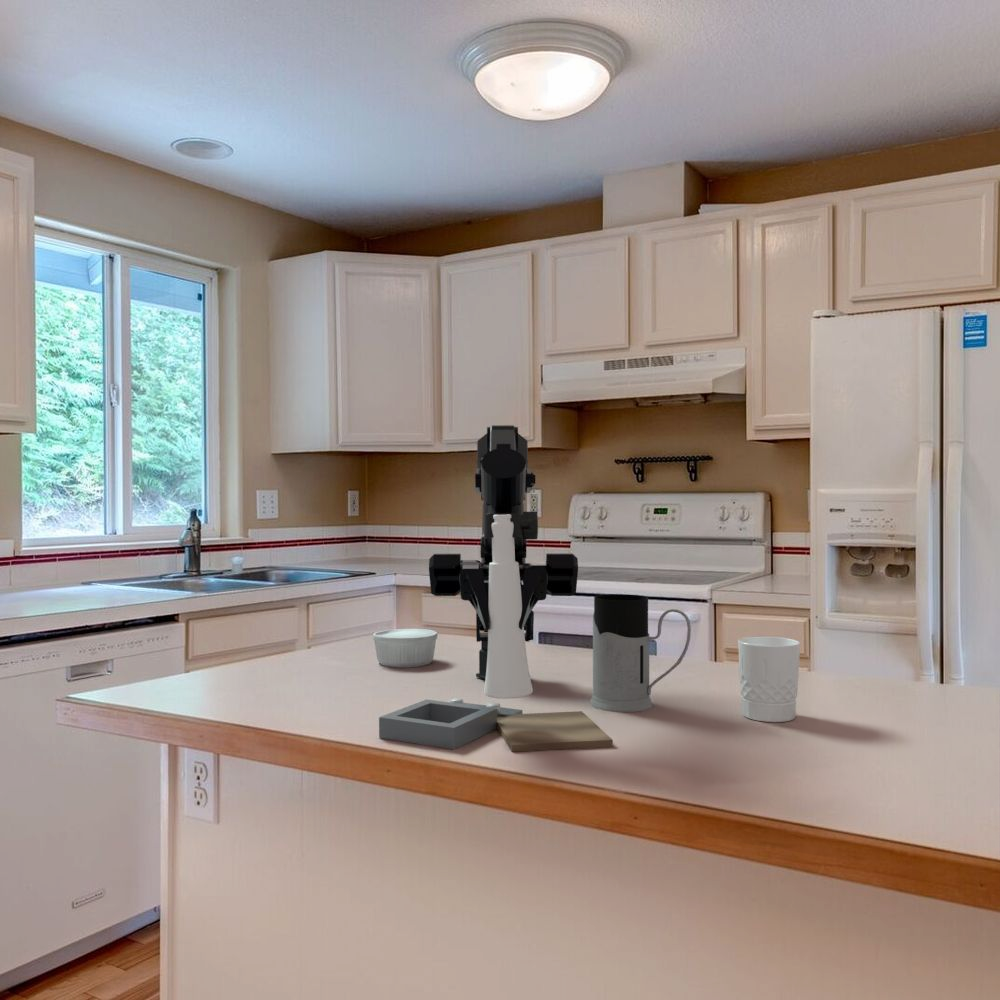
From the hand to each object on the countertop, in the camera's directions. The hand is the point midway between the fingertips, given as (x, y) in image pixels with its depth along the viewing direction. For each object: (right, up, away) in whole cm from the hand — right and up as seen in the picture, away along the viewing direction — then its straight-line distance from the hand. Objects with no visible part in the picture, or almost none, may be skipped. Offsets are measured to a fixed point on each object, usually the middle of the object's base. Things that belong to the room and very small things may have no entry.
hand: (503, 628), depth 112 cm
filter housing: (-6, -13, +5) cm, 16 cm away
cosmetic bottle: (+1, -8, +2) cm, 9 cm away
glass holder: (+19, -13, +16) cm, 28 cm away
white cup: (+35, -13, +10) cm, 39 cm away
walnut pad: (+6, -13, +2) cm, 15 cm away
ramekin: (-17, -13, +48) cm, 53 cm away
